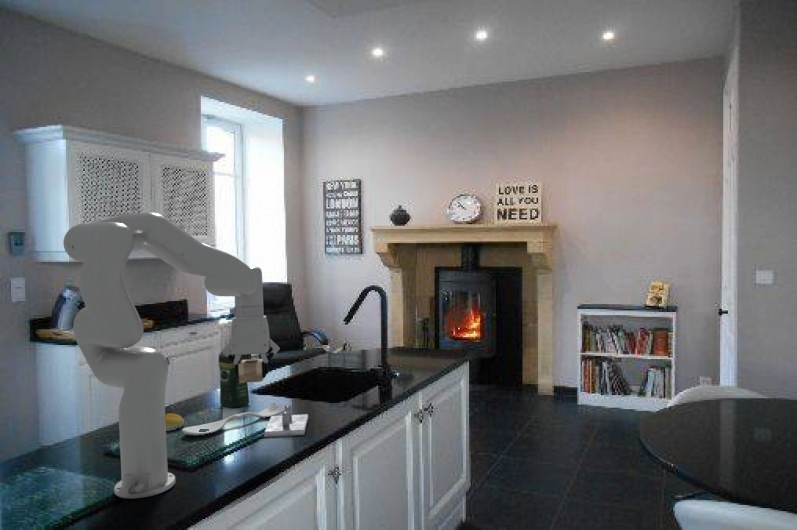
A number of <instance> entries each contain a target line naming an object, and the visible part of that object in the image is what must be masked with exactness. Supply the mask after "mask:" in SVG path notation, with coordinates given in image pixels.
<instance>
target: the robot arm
mask: <svg viewBox="0 0 797 530" xmlns="http://www.w3.org/2000/svg"><path fill="white" fill-rule="evenodd" d="M62 244H63V248H64V251H65V253H66V254H67V255H68V256H69V257H70V258H71V259H72V260H74V261H77V262H81V263H83V264H82V267H81V271H80V273H79V277H78V288H79V292H80V295H81V299H82V300H83V302H84V305H85V306H84V307H82V308H81V309H80V310H79V311H78V312H77V314H76V315H75V318H74V321H73V327H72V329H73V336H74V339H75V341H76V343H77V345H78V347H79V349H80V351H81V353H82V354H83V357H84V358H85V359H84V360H86V362H87V365H88V366H89V368H90V370H91V372H92V373H93V375H94V376H95V378H96V380H98V381H99V382H100V383H101V384H103V385H105V386H109V387H114V388H119V389H123V393H122V396H121V398H120V401H119V406H118V423H119V424H118V427H119V428H118V429H119V430H118V431H119V448H120V450H119V451H120V452H119V454H120V469H121V471H120V473H121V475H120V476H121V480H120V481H118V482H117V483H116V484H115V485H114V487H113V493H114V495H116V496H117V497H119V498H121V499H143V498H148V497H152V496H156V495H159V494H162V493H164V492H166V491H168V490H170V489H171V488H172V487H173V486H174V485H175V484H176V476H175V474H173V473H172V472H168V471H169V469H168V468H169V467H168V453H167V452H168V450H167V449H168V447H167V446H168V445H167V432H166V421H165V414H166V386H167V380H168V374H169V364H168V361H167V359H166V357H165V355H163V353H162V352H161V351H159V350H158V349H154V348H152V347H148V346H140V345H138V346H137V344H138V343H139V342H140V341H141V340H142V338H143V335H144V325H143V322H142V319H141V317H140V314H139V312H138V310H137V308H136V307H135V304H134V302H133V300H132V298H131V296H130V294H129V291H128V288H127V285H126V284H125V283H126V282H125V280H124V272H125V267H126V264H127V262H128V259H129V257H130V256H131V254H132V251H135V250H144V251H147V252H148V253H151V254H152V255H153V256H155V257H157V258H159V259H160V260H162V261H163V262H165V263H166V264H168V265H170V266H171V267H172V268H173V269H175V270H177V271H179V272H183V273H185V274H189V275H193V276H199V277H204V280H203V284H204V289H206V291H207V292H208V293H209V294H211V295H213V296H216V297H234V307H232V308H229V314H233V315H234V317H232V320H231V327H230V342H229V343H228V344H227V345H226V346H225V347H224V348H223V349H222V350H221V352H222V353H223V354H224V355H225V356H227V357H228V358H229V359H230V360H231V361H232V362H233V363H234V364H235V375H238V379H239V368H238V364H239V363H240V359H241V356H242V355H260V356H261V359H263V363H262V377H263V378H264V379H265V378H266V377H267V375H268V374H269V361H270V360H271V359H272V358H274V356H275V355H277V353H278V352H279V351H280V349H281V348H280V347H279V345H277V343H275V342H274V341H273V340H272V339H271V338H270V328H269V322H268V318H267V315H264V313H265V312H264V290H263V271H262V269H261V268H260V267H259V266H249V265H247V264H246V263H245V262H244V261H242V260H241V259H239V258H237V257H236V256H235V255H232V254H231V253H228V252H226V251H223V250H221V249H218V248H216V247H213V246H211V245H209V244H207V243H204V242H201V241H199V240H198V239H197V238H194V237H193V236H192V235H190V234H189V233H187V232H186V231H185V230H183V229H182V228H181V227H179V226H178V225H177V224H175V223H173V222H172V221H171V220H170V219H168V218H167V217H165V216H163V215H162V214H160V213H156V212H154V211H153V212H151V211H149V212H146V211H145V212H139V213H138V212H136V213H125V214H121V215H117V216H111V217H108V218H103V219H98V220H92V221H88V222H87V221H86V222H83V223H78V224H75V225H74V226H72V227H70V228H69V229H68V230H67V232H66V233H65V235H64V238H63V243H62ZM270 349H272V350H271V351H270V353H269V354H268V352H269V350H270ZM229 350H231V352H230V351H229ZM233 354H235V355H236V356H234V355H233Z"/></svg>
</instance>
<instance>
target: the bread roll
mask: <svg viewBox="0 0 797 530" xmlns="http://www.w3.org/2000/svg"><path fill="white" fill-rule="evenodd" d="M165 421H166V429H167V428H174V427H178V426H180V425H182V424H184V422H185V420H184V418H183V417H182V416H181V415H180V414H178V413H170V412H169V413H165ZM184 425H185V424H184Z"/></svg>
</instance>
